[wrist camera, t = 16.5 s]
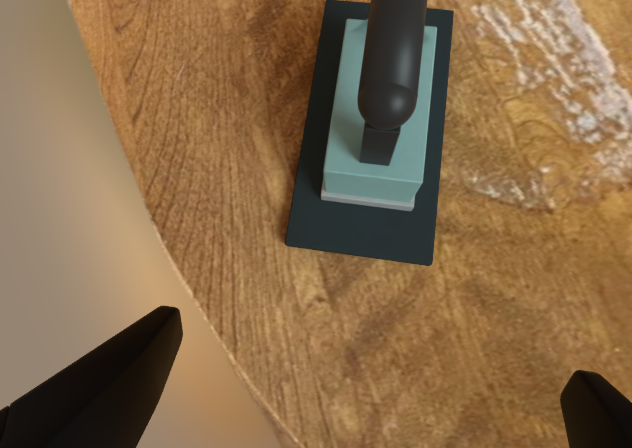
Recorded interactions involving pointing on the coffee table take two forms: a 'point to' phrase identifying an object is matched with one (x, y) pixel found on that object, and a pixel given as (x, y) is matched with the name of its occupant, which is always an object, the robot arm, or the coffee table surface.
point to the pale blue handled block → (381, 107)
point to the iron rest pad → (307, 207)
